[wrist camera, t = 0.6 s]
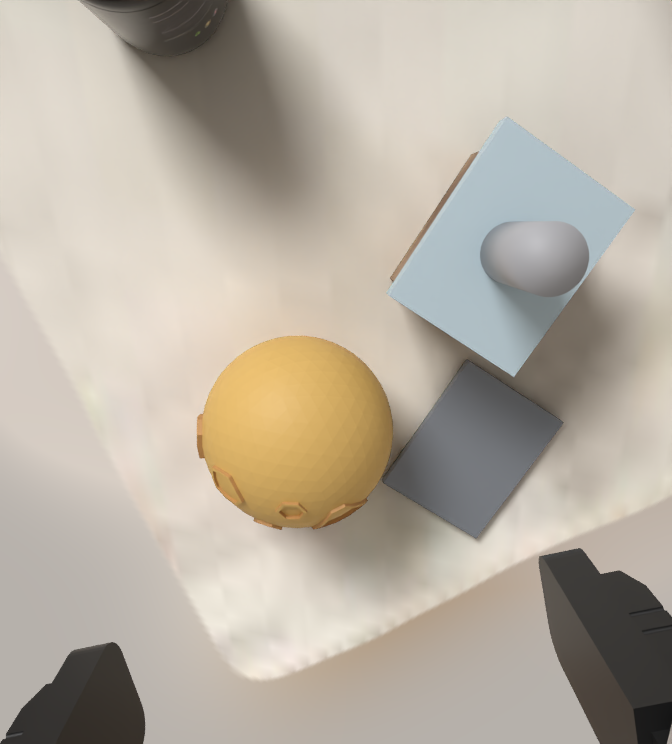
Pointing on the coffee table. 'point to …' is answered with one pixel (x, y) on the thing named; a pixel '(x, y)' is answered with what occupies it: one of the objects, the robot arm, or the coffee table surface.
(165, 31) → the supplement bottle
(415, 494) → the slate mat
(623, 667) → the robot arm
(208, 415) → the stress ball
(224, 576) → the coffee table surface
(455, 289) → the lid
